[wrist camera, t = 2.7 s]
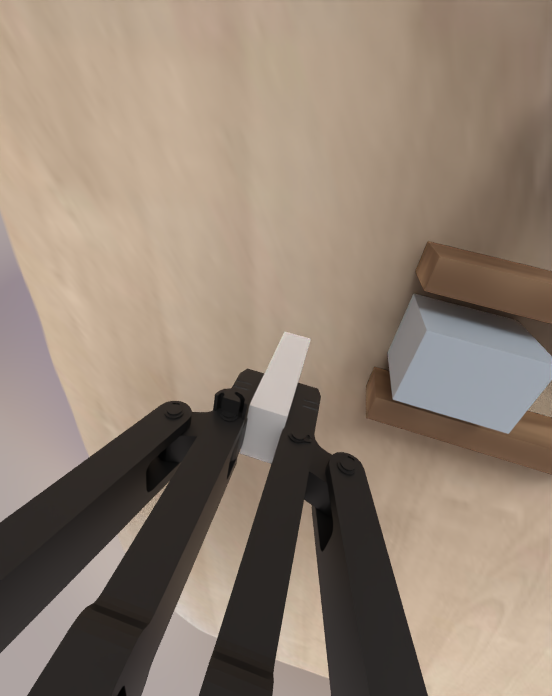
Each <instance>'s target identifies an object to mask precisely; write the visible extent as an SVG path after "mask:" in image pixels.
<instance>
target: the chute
mask: <svg viewBox="0 0 552 696" xmlns="http://www.w3.org/2000/svg"><path fill="white" fill-rule="evenodd" d="M415 272H416V274H417V276H418V278H419V281H420V283H421V285H422V287H423V289H424V291H426V292H430V293H434V294H438V295H442V296H446V297H450V298H453V299H457V300H461V301H465V302H469V303H473V304H477V305H480V306H484V307H488V308H492V309H496V310H500V311H504V312H507V313H511V314H515V315H519V316H523V317H527V318H531V319H534V320H538V321H542V322H546V323H550V324H552V271H548V270H544V269H540V268H536V267H532V266H528V265H524V264H520V263H515V262H511V261H507V260H503V259H499V258H495V257H491V256H487V255H482V254H478V253H474V252H470V251H466V250H462V249H458V248H454V247H450V246H445V245H441V244H437V243H433V242H429V241H428V242H427V245H426V247H425V249H424V252H423V254H422V256H421V259H420V261H419V264H418V266H417V268H416V271H415ZM366 418H369V419H372V420H375V421H379V422H382V423H385V424H388V425H392V426H395V427H398V428H401V429H405V430H408V431H411V432H415V433H418V434H421V435H424V436H428V437H431V438H434V439H437V440H441V441H444V442H447V443H451V444H454V445H457V446H460V447H464V448H467V449H470V450H473V451H477V452H480V453H483V454H487V455H490V456H493V457H496V458H500V459H503V460H506V461H509V462H513V463H516V464H519V465H523V466H526V467H529V468H532V469H536V470H539V471H542V472H545V473H549V474H552V418H551V417H547V416H544V415H540V414H537V413H534V412H530V411H526V413H525V414H524V415H523V416H522V418H521V419H520V420H519V421H518V423H517V424H516V425H515V426H514V428H513V429H512V430H511V431H510V433H509V434H507V433H504V432H500V431H497V430H494V429H490V428H487V427H484V426H480V425H477V424H473V423H470V422H467V421H463V420H460V419H457V418H453V417H450V416H447V415H443V414H440V413H436V412H433V411H430V410H426V409H423V408H420V407H416V406H413V405H410V404H406V403H403V402H399V401H396V400H393V398H392V389H391V380H390V371H388V370H384V369H381V368H377V367H374V369H373V371H372V374H371V376H370V378H369V381H368V383H367V385H366Z"/></svg>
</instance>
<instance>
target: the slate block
mask: <svg viewBox="0 0 552 696" xmlns="http://www.w3.org/2000/svg"><path fill="white" fill-rule="evenodd" d="M388 362H389V371H390V380H391V389H392V398H393V400H396V401H399V402H403V403H406V404H410V405H413V406H416V407H420V408H423V409H426V410H430V411H433V412H436V413H440V414H443V415H447V416H450V417H453V418H457V419H460V420H463V421H467V422H470V423H473V424H477V425H480V426H484V427H487V428H490V429H494V430H497V431H500V432H504V433H507V434H509V433H510V431H511V430H512V429H513V428H514V426H515V425H516V424H517V423H518V421H519V420H520V419H521V418H522V416H523V415H524V414H525V413H526V411H527V410H528V409H529V408H530V406H531V405H532V404H533V403H534V401H535V400H536V399H537V398H538V396H539V395H540V394H541V393H542V391H543V390H544V389H545V388H546V386H547V385H548V384H549V383H550V381H551V380H552V356H551V355H550V354H549V353H548V352H547V351H546V350H545V349H544V348H543V347H542V346H541V345H540V343H539V342H538V341H537V340H536V339H535V338H534V337H533V336H532V335H531V334H530V333H529V332H528V331H527V330H526V329H525V328H524V327H523V326H522V325H521V324H520V323H519V321H518V320H514V319H510V318H506V317H502V316H498V315H495V314H491V313H487V312H483V311H479V310H475V309H472V308H468V307H464V306H460V305H456V304H452V303H449V302H445V301H441V300H437V299H433V298H429V297H426V296H422V295H418V294H414V293H413V296H412V298H411V300H410V303H409V305H408V307H407V309H406V312H405V314H404V316H403V318H402V321H401V323H400V325H399V328H398V330H397V332H396V334H395V337H394V339H393V341H392V343H391V346H390V348H389V350H388Z"/></svg>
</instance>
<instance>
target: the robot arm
mask: <svg viewBox="0 0 552 696" xmlns="http://www.w3.org/2000/svg"><path fill="white" fill-rule="evenodd" d="M310 340H311V339H310V338H306V337H303V336H299V335H296V334H292V333H289V332H284V334H283V336H282V338H281V340H280V342H279V344H278V346H277V348H276V351H275V353H274V355H273V357H272V359H271V361H270V363H269V365H268V367H267V369H266V371H265V374H264V373H261V372H257V371H254V370H250V369H246V370H245V371H243V372H241V373H240V375H239V376H238V378H237V380H236V381H235V383H234V385H233V386H232V388H231V389H223V390H220V391H218V392H217V393H216V394H215V400H214V408H213V411H211V412H192V410H191V408H190V406H188V405H187V404H186V403H183V402H180V401H170V402H166V403H164V404H162V405H160V406H159V407H158V408H156V409H155V410H153V411H152V412H151V413H149V414H148V415H147V416H145V417H144V418H143V419H141V420H140V421H138V422H137V423H136V424H134V425H133V426H132V427H130V428H129V429H127V430H126V431H125V432H123V433H122V434H121V435H119V436H118V437H117V438H115V439H114V440H112V441H111V442H110V443H108V444H107V445H106V446H104V447H103V448H101V449H100V450H99V451H97V452H96V453H95V454H93V455H92V456H91V457H89V458H88V459H87V460H85V461H84V462H82V463H81V464H80V465H78V466H77V467H75V468H74V469H73V470H72V471H70V472H69V473H67V474H66V475H65V476H63V477H62V478H60V479H59V480H58V481H56V482H55V483H54V484H52V485H51V486H50V487H48V488H47V489H46V490H44V491H43V492H41V493H40V494H39V495H37V496H36V497H34V498H33V499H32V500H30V501H29V502H28V503H26V504H25V505H24V506H22V507H21V508H19V509H18V510H17V511H15V512H14V513H13V514H11V515H10V516H8V517H7V518H6V519H4V520H3V521H2V522H0V653H1V652H2V651H3V650H4V649H5V648H6V647H7V646H8V645H9V644H10V643H11V642H12V641H13V640H14V639H15V638H16V637H17V635H19V633H21V631H22V630H23V629H25V627H26V626H27V625H28V624H29V623H30V622H31V621H32V620H33V619H34V618H35V617H36V616H37V615H38V614H39V613H40V612H41V611H42V610H43V609H44V608H45V607H46V606H47V605H48V604H49V603H50V602H51V601H52V600H53V599H54V598H55V597H56V596H57V595H58V594H59V593H60V592H61V591H62V590H63V589H64V588H65V587H66V586H67V585H68V584H69V583H70V582H71V580H73V579H74V578H75V577H76V576H77V575H78V573H80V572H81V570H82V569H83V568H84V567H85V566H86V565H87V564H88V563H89V562H90V561H91V560H92V559H93V558H94V557H95V556H96V555H97V554H98V553H99V552H100V551H101V550H102V549H103V548H104V547H105V546H106V545H107V544H108V543H109V542H110V541H111V540H112V539H113V538H114V537H115V536H116V535H117V534H118V533H119V532H120V531H121V530H122V529H123V528H124V527H125V526H126V525H127V524H128V523H129V522H130V521H131V520H132V519H133V518H134V517H135V516H136V515H137V514H138V513H139V511H140V510H141V509H142V508H143V507H144V506H145V505H146V504H147V503H148V502H149V501H150V500H151V499H152V498H153V497H154V496H155V495H156V494H157V493H158V492H159V491H160V490H161V489H162V488H163V487H164V486H165V485H166V484H167V483H168V482H169V481H170V482H169V484H168V485H167V487H166V488H165V490H164V492H163V493H162V495H161V497H160V498H159V500H158V502H157V503H156V505H155V506H154V508H153V510H152V511H151V513H150V515H149V516H148V518H147V520H146V521H145V523H144V524H143V526H142V528H141V529H140V531H139V533H138V534H137V536H136V538H135V539H134V541H133V542H132V544H131V546H130V547H129V549H128V551H127V552H126V554H125V556H124V557H123V559H122V560H121V562H120V564H119V565H118V567H117V569H116V570H115V572H114V573H113V575H112V577H111V578H110V580H109V582H108V583H107V585H106V587H105V588H104V590H103V592H102V593H101V595H100V596H99V598H98V599H97V600H96V601H95V602H94V603H93V604H91V605H89V606H88V607H86V608H85V609H84V610H83V611H82V612H81V614H80V615H79V616H78V617H77V619H76V620H75V622H74V623H73V624H72V626H71V627H70V629H69V630H68V632H67V634H66V635H65V637H64V638H63V640H62V641H61V643H60V645H59V646H58V648H57V649H56V651H55V653H54V654H53V656H52V657H51V659H50V660H49V662H48V664H47V665H46V667H45V668H44V670H43V672H42V673H41V675H40V676H39V678H38V679H37V681H36V683H35V684H34V686H33V687H32V689H31V691H30V692H29V694H28V695H27V696H141V695H142V692H143V689H144V686H145V684H146V680H147V677H148V674H149V670H150V667H151V664H152V662H153V659H154V657H155V654H156V652H157V650H158V647H159V645H160V642H161V640H162V638H163V635H164V633H165V631H166V628H167V626H168V624H169V621H170V619H171V617H172V614H173V612H174V609H175V607H176V605H177V602H178V600H179V598H180V595H181V593H182V591H183V588H184V586H185V584H186V581H187V579H188V576H189V574H190V572H191V569H192V567H193V565H194V562H195V560H196V558H197V555H198V553H199V550H200V548H201V546H202V543H203V541H204V539H205V536H206V534H207V532H208V529H209V527H210V524H211V522H212V520H213V517H214V515H215V513H216V510H217V508H218V506H219V503H220V501H221V498H222V496H223V494H224V491H225V489H226V487H227V484H228V482H229V480H230V477H231V475H232V472H233V470H234V468H235V465H236V462H237V457H238V454H239V452H240V454H243V455H246V456H249V457H252V458H255V459H258V460H261V461H264V462H267V463H271V468H270V471H269V474H268V477H267V480H266V484H265V487H264V490H263V493H262V497H261V500H260V503H259V506H258V509H257V513H256V516H255V519H254V522H253V525H252V529H251V532H250V535H249V538H248V542H247V545H246V548H245V551H244V554H243V558H242V561H241V564H240V567H239V570H238V574H237V577H236V580H235V583H234V587H233V590H232V593H231V596H230V599H229V603H228V606H227V609H226V612H225V615H224V619H223V622H222V625H221V628H220V632H219V635H218V638H217V641H216V645H215V647H214V651H213V654H212V656H211V659H210V662H209V665H208V668H207V671H206V675H205V678H204V681H203V684H202V687H201V691H200V694H199V696H272V693H273V683H274V678H273V672H274V664H275V658H276V652H277V647H278V641H279V636H280V630H281V625H282V619H283V613H284V608H285V602H286V597H287V591H288V586H289V580H290V574H291V569H292V563H293V558H294V552H295V547H296V541H297V536H298V530H299V524H300V519H301V513H302V508H303V502H304V500H306V501H307V502H308V503H310V504H311V505H312V507H311V508H312V517H313V527H314V536H315V546H316V555H317V565H318V574H319V584H320V594H321V603H322V613H323V622H324V632H325V641H326V651H327V661H328V670H329V680H330V689H331V696H428V694H427V691H426V687H425V684H424V680H423V677H422V673H421V669H420V666H419V662H418V659H417V655H416V652H415V648H414V645H413V641H412V637H411V634H410V630H409V627H408V623H407V620H406V616H405V613H404V609H403V605H402V602H401V598H400V595H399V591H398V588H397V584H396V581H395V577H394V573H393V570H392V566H391V563H390V559H389V556H388V552H387V549H386V545H385V541H384V538H383V534H382V531H381V527H380V524H379V520H378V517H377V513H376V509H375V506H374V502H373V499H372V495H371V492H370V488H369V485H368V481H367V477H366V474H365V470H364V468H363V466H362V464H361V462H360V461H359V460H358V459H357V458H356V457H354V456H352V455H351V454H348V453H344V452H337V453H335V454H333V455H331V454H330V453H328V452H326V451H325V450H324V449H322V448H321V447H320V446H319V445H318V443H317V442H316V440H315V437H314V432H315V426H316V421H317V415H318V410H319V404H320V399H321V396H320V393H319V390H318V389H317V388H313V387H310V386H307V385H303V384H300V383H298V382H299V379H300V375H301V372H302V368H303V365H304V361H305V358H306V354H307V351H308V347H309V344H310ZM240 449H241V451H240Z"/></svg>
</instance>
